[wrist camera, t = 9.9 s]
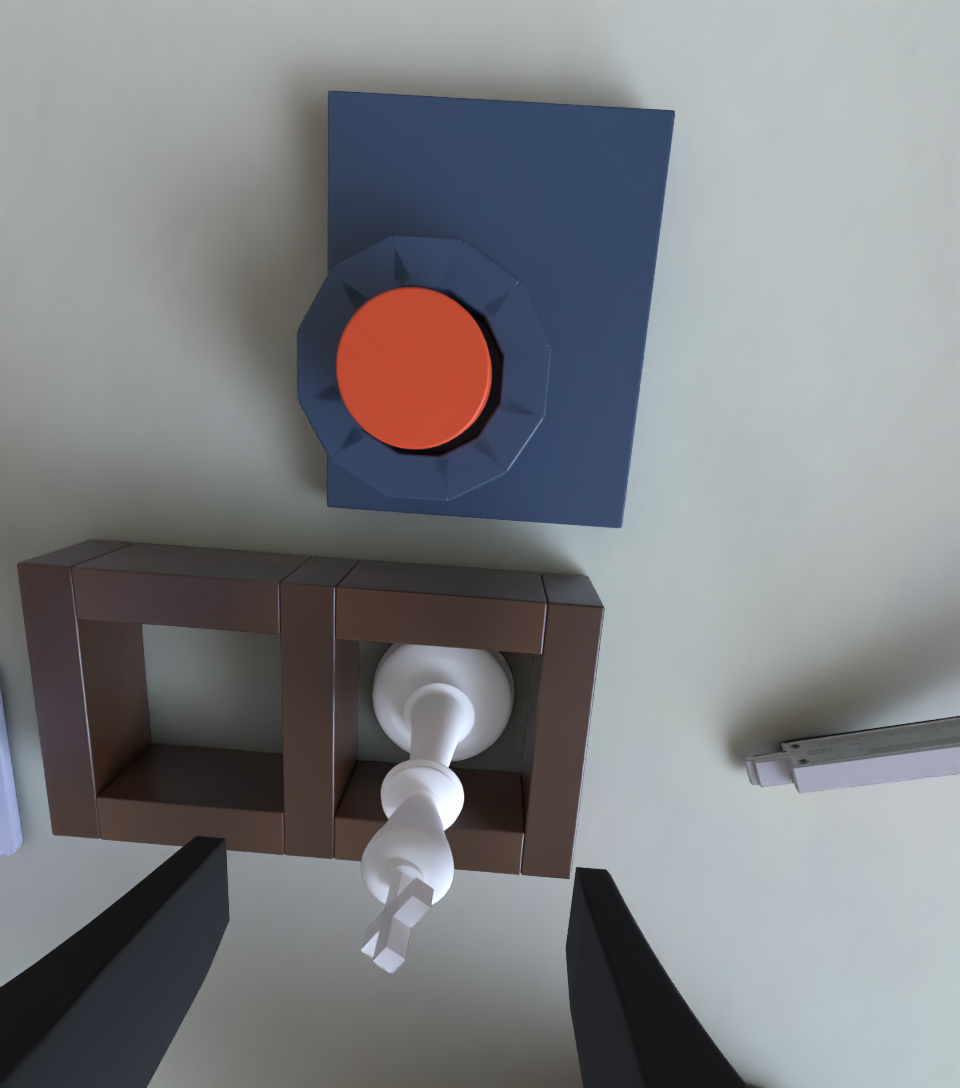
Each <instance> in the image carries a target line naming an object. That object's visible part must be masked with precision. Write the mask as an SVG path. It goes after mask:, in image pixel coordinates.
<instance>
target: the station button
mask: <svg viewBox="0 0 960 1088" xmlns="http://www.w3.org/2000/svg"><path fill="white" fill-rule="evenodd" d="M336 377H337V382H338V387H339V390H340V394H341V397H342V399H343V401H344V403H345V406H346V407H347V409H348V411H349V412H350V414H351V415H352V417H353V418H354V419H355V421H356V422H357V423H358V424H359V425H360V426H361V427H362V428H363V429H364V430H365V431H366V432H368V433H369V434H370V435H372V436H373V437H375V438H377V439H378V440H380V441H382V442H384V443H386V444H389V445H391V446H395V447H399V448H404V449H426V448H432V447H435V446H439V445H441V444H444V443H446V442H449V441H450V440H452V439H454V438H455V437H457V436H458V435H460V434H461V433H463V432H464V431H465V430H467V429H468V428H469V427H470V426H471V425H472V424H473V423H474V422H475V421H476V419H477V418H478V417H479V415H480V414H481V412H482V411H483V409H484V407H485V405H486V402H487V400H488V397H489V393H490V390H491V383H492V366H491V359H490V355H489V351H488V347H487V343H486V341H485V338H484V336H483V333H482V331H481V330H480V328H479V326H478V324H477V323H476V321H475V320H474V319H473V317H472V316H471V315H470V314H469V313H468V312H467V311H466V310H465V308H463V307H462V306H461V305H460V304H459V303H457V302H456V301H455V300H453V299H451V298H450V297H448V296H446V295H444V294H442V293H440V292H437V291H434V290H431V289H427V288H420V287H402V288H396V289H392V290H389V291H386V292H383V293H381V294H379V295H377V296H375V297H373V298H372V299H370V300H369V301H367V302H366V303H365V304H364V305H363V306H361V307H360V308H359V309H358V310H357V312H356V313H355V314H354V315H353V316H352V318H351V319H350V321H349V322H348V324H347V325H346V327H345V329H344V331H343V333H342V336H341V339H340V342H339V345H338V350H337V355H336Z"/></svg>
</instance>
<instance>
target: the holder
mask: <svg viewBox="0 0 960 1088" xmlns="http://www.w3.org/2000/svg"><path fill="white" fill-rule="evenodd" d="M17 569H18V577H19V584H20V592H21V599H22V607H23V614H24V622H25V630H26V637H27V645H28V652H29V660H30V667H31V675H32V683H33V690H34V698H35V705H36V713H37V721H38V728H39V736H40V743H41V751H42V758H43V766H44V774H45V781H46V789H47V796H48V804H49V811H50V819H51V827H52V834H53V835H59V836H71V837H82V838H94V839H99V838H101V839H102V840H113V841H125V842H136V843H148V844H160V845H172V846H185V845H186V844H187V843H188V842H190V841H191V840H192V839H193V838H195V837H196V836H205V837H217V838H226V850H230V851H242V852H254V853H266V854H277V855H284V853H285V855H291V856H303V857H315V858H326V859H333V858H335V859H339V860H351V861H361V860H362V856H363V853H364V851H365V849H366V847H367V845H368V843H369V842H370V841H371V839H372V838H373V837H374V835H375V834H376V833H377V832H378V831H379V830H380V829H381V828H382V827H383V826H384V825H385V824H386V823H387V821H388V818H387V816H386V814H385V812H384V810H383V807H382V800H381V787H382V783H383V781H384V778H385V777H386V775H387V774H388V772H389V771H390V770H391V769H392V768H394V767H395V766H396V765H398V764H394V763H381V762H369V761H357V725H358V666H359V640H361V641H374V642H387V643H400V644H413V645H425V646H438V647H451V648H464V649H477V650H490V651H503V652H516V653H529V654H533V661H532V672H531V682H530V693H529V703H528V714H527V724H526V734H525V745H524V755H523V766H522V776H521V774H517V773H504V772H492V771H480V770H467V769H455V768H450V769H451V770H452V771H453V772H454V773H455V774H456V776H457V777H458V778H459V780H460V782H461V784H462V787H463V791H464V803H463V807H462V809H461V812H460V813H459V815H458V817H457V818H456V820H455V821H454V823H453V824H452V825H451V826H450V827H448V828H447V829H445V830H444V833H445V836H446V839H447V841H448V843H449V846H450V849H451V853H452V857H453V863H454V869H457V870H469V871H480V872H492V873H504V874H516V875H519V874H520V873H521V874H522V875H528V876H540V877H551V878H563V879H570V877H571V872H572V864H573V856H574V848H575V840H576V832H577V824H578V816H579V808H580V800H581V792H582V784H583V776H584V768H585V760H586V752H587V744H588V736H589V728H590V720H591V712H592V704H593V696H594V689H595V681H596V673H597V665H598V657H599V649H600V641H601V633H602V625H603V617H604V606H603V604H602V602H601V600H600V598H599V596H598V594H597V592H596V590H595V588H594V586H593V584H592V583H591V581H590V579H589V577H587V576H574V575H561V574H547V573H542V574H540V573H534V572H520V571H507V570H494V569H480V568H467V567H453V566H440V565H426V564H413V563H399V562H386V561H372V560H361V561H360V560H358V559H346V558H333V557H319V556H314V557H312V556H306V555H292V554H279V553H266V552H252V551H239V550H225V549H212V548H198V547H185V546H171V545H158V544H144V543H135V544H134V543H129V542H115V541H102V540H87V541H84V542H81V543H78V544H75V545H72V546H69V547H66V548H62V549H59V550H56V551H53V552H50V553H47V554H44V555H41V556H38V557H35V558H32V559H28V560H25V561H22V562H19V563H18V564H17ZM141 624H152V625H165V626H178V627H191V628H204V629H217V630H230V631H243V632H256V633H269V634H280V633H281V669H282V725H283V754H273V753H261V752H249V751H237V750H224V749H212V748H200V747H187V746H175V745H163V744H151V738H150V725H149V713H148V700H147V688H146V675H145V663H144V650H143V638H142V625H141Z"/></svg>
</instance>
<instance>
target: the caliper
mask: <svg viewBox="0 0 960 1088" xmlns="http://www.w3.org/2000/svg"><path fill="white" fill-rule="evenodd" d="M781 744H782V748H783V752H775V753H767V754H759V755H754V756H749V757H746V758H745V759H744V761H745V765H746V769H747V773H748V776H749V780H750V783H751V784H752V785H760V786H761V787H767V786H776V785H783V784H791V783H794V784H795V787H796V789H797V790H798V792H799V793H805V792H814V791H822V790H830V789H839V788H847V787H855V786H864V785H872V784H880V783H889V782H897V781H905V780H914V779H922V778H930V777H938V776H947V775H955V774H960V716H956V717H949V718H943V719H936V720H929V721H922V722H915V723H908V724H901V725H894V726H887V727H880V728H873V729H866V730H859V731H852V732H845V733H838V734H831V735H825V736H818V737H811V738H804V739H797V740H790V741H785V742H782V743H781Z"/></svg>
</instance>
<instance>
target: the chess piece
mask: <svg viewBox="0 0 960 1088" xmlns="http://www.w3.org/2000/svg"><path fill="white" fill-rule="evenodd" d="M372 697H373V707H374V711H375V714H376V717H377V720H378V722H379V724H380V726H381V727H382V729H383V731H384V732H385V733H386V735H387V736H388V737H389V738H390V739H391V740H392V741H393V742H394V743H395V744H396V745H397V746H399V747H400V748H401V749H403V750H404V751H406V752H408V753H410V760H407V761H404V762H402V763H400V764H398V765H396V766H395V767H394V768H392V769H391V770H390V771H389V772H388V774H387V775H386V777H385V778H384V781H383V783H382V787H381V800H382V807H383V810H384V812H385V814H386V816H387V818H388V821H387V823H386V824H385V825H384V826H383V827H382V828H381V829H380V830H379V831H378V832H377V833H376V834H375V835H374V837H373V838H372V839H371V841H370V842H369V843H368V845H367V847H366V849H365V851H364V853H363V856H362V860H361V874H362V878H363V881H364V883H365V885H366V887H367V888H368V890H369V891H370V892H371V894H372V895H373V896H374V897H376V898H377V899H378V900H379V901H381V902H382V903H384V904H385V909H384V911H383V912H382V913H381V914H380V915H379V917H378V918H377V919H376V920H375V921H374V922H373V923H372V924H371V925H370V926H369V927H368V928H367V929H366V931H365V935H364V938H363V942H362V946H361V951H362V952H364V953H365V954H367V955H369V956H370V957H372V958H373V960H372V962H374V963H375V964H377V965H378V966H380V967H381V968H383V969H384V970H386V971H387V972H389V973H391V974H392V973H393V972H394V971H395V970H396V969H397V968H398V967H399V966H400V965H401V964H402V963H403V962H404V961H405V960H406V955H407V950H408V944H409V938H410V932H411V928H412V927H413V926H414V925H415V924H416V923H417V922H418V921H419V920H420V919H421V918H422V917H423V916H424V915H425V914H426V913H427V912H428V911H429V910H430V909H431V905H432V904H434V903H436V902H437V901H438V900H440V899H441V898H442V897H443V896H444V895H445V894H446V892H447V891H448V889H449V888H450V886H451V883H452V880H453V876H454V863H453V857H452V853H451V849H450V846H449V843H448V841H447V839H446V836H445V833H444V830H445V829H447V828H448V827H450V826H451V825H452V824H453V823H454V821H455V820H456V818H457V817H458V815H459V813H460V812H461V809H462V807H463V803H464V791H463V787H462V784H461V782H460V780H459V778H458V777H457V776H456V774H455V773H454V772H453V771H452V770H451V769H450V768H448V767H449V765H450V762H454V761H460V760H464V759H467V758H470V757H473V756H475V755H477V754H479V753H481V752H483V751H484V750H486V749H487V748H488V747H490V746H491V745H492V744H493V743H494V742H495V741H496V740H497V739H498V738H499V737H500V735H501V734H502V733H503V731H504V729H505V728H506V726H507V723H508V721H509V718H510V715H511V710H512V707H513V702H514V682H513V677H512V674H511V671H510V668H509V666H508V664H507V662H506V660H505V659H504V657H503V656H502V654H501V653H500V652H499V651H490V650H477V649H464V648H451V647H438V646H425V645H413V644H400V643H394V644H392V645H391V646H390V647H389V649H388V650H387V651H386V652H385V654H384V655H383V657H382V658H381V660H380V662H379V665H378V667H377V670H376V673H375V678H374V685H373V694H372Z"/></svg>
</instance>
